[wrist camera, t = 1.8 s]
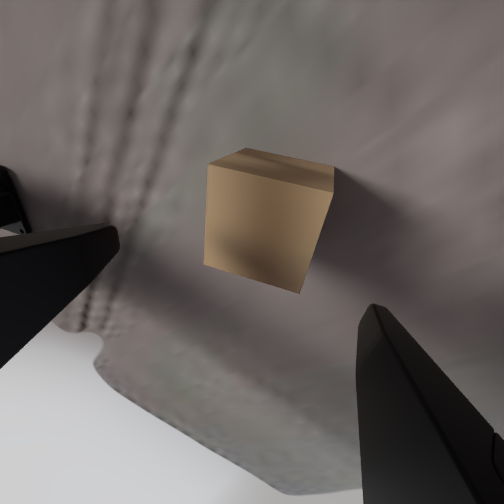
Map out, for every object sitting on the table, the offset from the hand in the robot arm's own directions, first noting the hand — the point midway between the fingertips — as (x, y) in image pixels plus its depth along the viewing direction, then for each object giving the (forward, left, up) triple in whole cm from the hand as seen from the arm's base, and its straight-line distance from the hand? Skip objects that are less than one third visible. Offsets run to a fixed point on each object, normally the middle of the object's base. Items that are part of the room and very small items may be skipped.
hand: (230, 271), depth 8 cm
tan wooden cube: (0, 0, -8) cm, 8 cm away
